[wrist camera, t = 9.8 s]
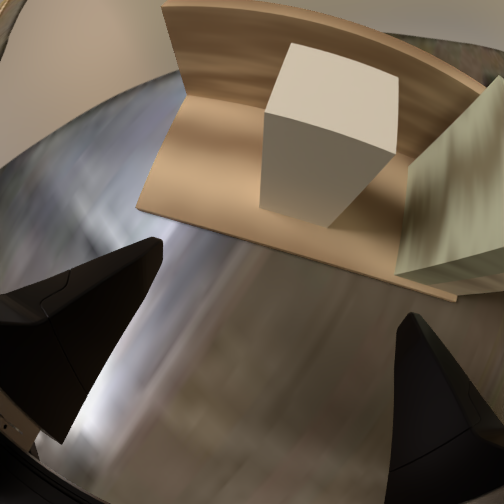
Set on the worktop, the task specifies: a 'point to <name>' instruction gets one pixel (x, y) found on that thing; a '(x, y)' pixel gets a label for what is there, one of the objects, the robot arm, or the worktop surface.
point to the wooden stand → (376, 192)
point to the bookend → (325, 134)
